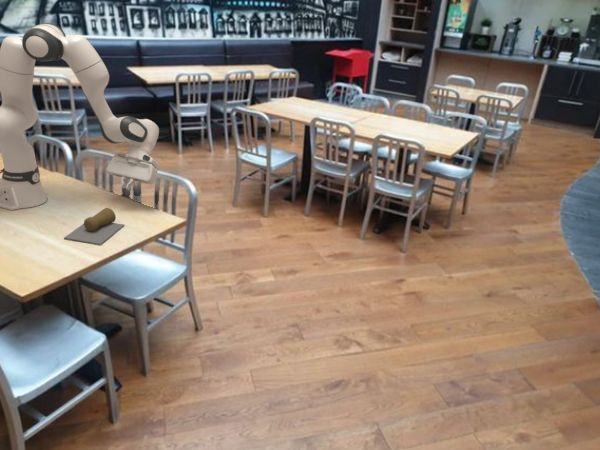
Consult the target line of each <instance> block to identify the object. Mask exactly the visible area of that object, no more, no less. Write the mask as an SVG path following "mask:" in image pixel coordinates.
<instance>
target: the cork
mask: <svg viewBox="0 0 600 450" xmlns="http://www.w3.org/2000/svg"><path fill="white" fill-rule="evenodd" d="M115 221H116V213H115V212H114V210H113V209H111V208H110V207H104V208H103V209H102V210H100V211H99V212H97V213H96V214H94V215H93V216H89V217H86V218H85V219H84V221H83V224H84V226H85V228H86V229H87V230H89V231H95V230H96V229H97V228H98V227H100V226H103V225H106V224H109V223H115Z"/></svg>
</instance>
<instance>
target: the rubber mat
mask: <svg viewBox="0 0 600 450" xmlns="http://www.w3.org/2000/svg"><path fill="white" fill-rule="evenodd" d="M124 227H125V224H122V223H118V222H112V223H109V224H106V225H103V226H100V227H98V228H97V229H96V230H95V231H89V230H87V229H86V228H85V226H84V223H82V224H81V225H80V226H78V227H77V228H75V229H74V230H73V231H72V232H70V233H68V234H67V235H66V236H64V237H63V239H64V240H66V241H67V240H68V241H72V242H77V243H78V242H79V243H82V244H83V243H84V244H90V245H95V246H103V244H104V243H106V242H107V241H108V240H109V239H110V238H112V237H113V236H114V235H115V234H116V233H117V232H119V231H120V230H121V229H123V228H124Z"/></svg>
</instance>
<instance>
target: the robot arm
mask: <svg viewBox="0 0 600 450" xmlns="http://www.w3.org/2000/svg"><path fill="white" fill-rule="evenodd" d="M61 59H62V60H63V61H65V62H66V64H67V65H68V66H69V68H70V70H71V71H72V73H73V75H74V76H75V77H76V79H77V80H78V83H79V84H80V86H81V89H82V92H83V95H84V97H85V99H86V101H87V103H88V104H89V106H90V107H89V108H91V111H92V112H93V114H94V116H95V118H96V120H97V121H98V124H99V126H100V127H99V128H100V131H101V136H102V137H103V139H104V140H105V141H106V142H108V143H110V144H113V145H114V144H115V145H116V144H120V143H125V142H127V143H128V144H129V147H128V149H127V151H126V154H121V153H117V154H114V155H113V156H112V159H111V160H110V162H109V163H108V165H107V167H106V169H105V170H106V172H107V173H108V174H109V175H111V176H114V177H117V178H118V177H119V178H120V181H121V185H120V188H121V189H123V190H130V189H131V186H133V185H134V184H135V183H136V182H140V183H143V184H148V185H152V184H154V183H155V181H156V179H157V175H158V168H159V166H160V165H159V163H158V162H157V161H156V160H155V159H154V158H153V157H152V151H153V150H154V148H155V146H156V144H157V140H158V139H159V134H160V128H159V126H158V125H157V124H156V123H155V122H154V121H152V120H151V119H148V118H143V119H140V118H136V117H133V116H130V115H129V116H120V117H116V116H115V115H114V114H113V112H112V110H111V108H110V106H109V105H108V102H107V100H106V98H105V93H104V92H105V90H106V88H107V86H108V84H109V82H110V73H109V70H108V69H107V67H106V65H105V63H104V61H103V59H102V58H101V56H100V55H99V53H98V52H97V50H96V49H95V48H94V46H93V44H91V42H89V40H88V39H87V38H86V37H85V36H84V35H81V34H71V35H69V36H67V35H66V34H65V31H64V30H63V29H62V28H61V27H60V26H58V25H56V24H54V23H51V22H44V23H40V24H37V25H34V26H33V27H32V28H30V29H28V30H26V31H25V33H24V34H23V36H18V35H9V36H6V37H5V38H3V40H2V42H1V45H0V94H1V101H2V102H1V105H0V155H1V159H2V164H3V168H2V169H0V174H2V175H1V177H0V208H2V209H6V210H9V211H15V210H19V209H26V208H33V207H38V206H40V205H43V204H44V203H46V202H47V200H48V197H47V195H46V193H45V191H44V188H43V185H42V182H41V179H40V178H41V177H40V169H39V166H37V165H38V164H37V161H36V155H35V149H34V147H33V146H32V145H31V144H29V143H28V141H27V139H26V138H25V131H27V130H28V129H30V128H32V127H33V126H34V125H35V124H36V122H37V120H38V119H39V118H38V117H39V111H38V110H37V108H36V106H35V105H34V98H33V83H34V75H35V65H36V61H38V62H51V61H52V62H53V61H60V60H61ZM128 180H129V181H128ZM126 182H128V183H126Z"/></svg>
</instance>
